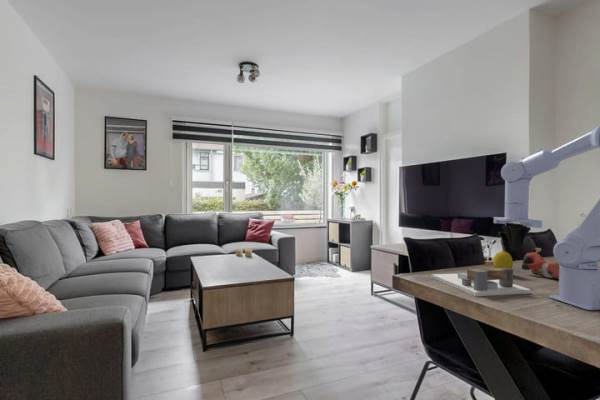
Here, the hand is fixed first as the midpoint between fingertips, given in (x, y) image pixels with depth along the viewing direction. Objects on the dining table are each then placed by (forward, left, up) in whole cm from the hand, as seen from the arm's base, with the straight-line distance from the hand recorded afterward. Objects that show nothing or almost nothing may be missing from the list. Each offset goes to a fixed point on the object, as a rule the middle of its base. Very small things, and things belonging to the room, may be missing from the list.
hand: (515, 250), depth 92 cm
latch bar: (-3, +11, -9) cm, 15 cm away
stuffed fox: (+8, -21, -11) cm, 25 cm away
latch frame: (+2, +11, -10) cm, 15 cm away
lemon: (+13, -8, -11) cm, 19 cm away
